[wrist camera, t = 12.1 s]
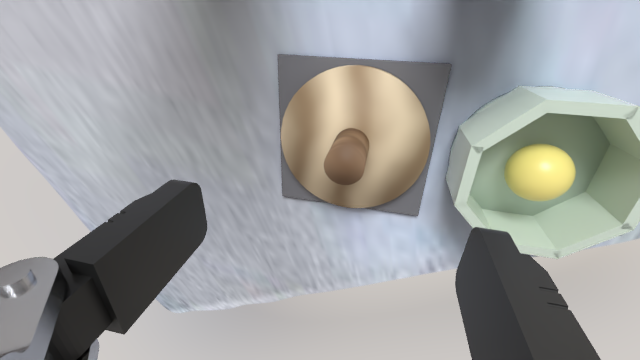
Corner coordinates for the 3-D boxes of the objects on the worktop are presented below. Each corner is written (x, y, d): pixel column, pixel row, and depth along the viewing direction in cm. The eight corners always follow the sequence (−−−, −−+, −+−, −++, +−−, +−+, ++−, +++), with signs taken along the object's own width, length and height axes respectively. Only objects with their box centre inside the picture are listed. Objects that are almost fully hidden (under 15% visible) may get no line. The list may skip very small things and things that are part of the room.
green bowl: (436, 205, 37) (444, 241, 31) (467, 80, 30) (486, 95, 24) (571, 224, 34) (609, 267, 28) (641, 92, 27) (711, 111, 21)
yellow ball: (490, 181, 33) (506, 207, 28) (506, 133, 31) (527, 153, 26) (546, 187, 32) (572, 216, 27) (567, 138, 30) (601, 161, 25)
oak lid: (286, 193, 41) (266, 224, 34) (281, 60, 33) (255, 69, 26) (414, 211, 38) (418, 249, 31) (444, 69, 30) (457, 81, 23)
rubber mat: (283, 193, 42) (282, 195, 41) (279, 54, 33) (277, 54, 33) (417, 213, 38) (417, 215, 38) (450, 63, 30) (451, 64, 29)
